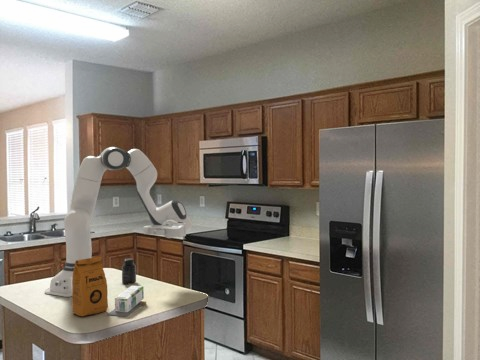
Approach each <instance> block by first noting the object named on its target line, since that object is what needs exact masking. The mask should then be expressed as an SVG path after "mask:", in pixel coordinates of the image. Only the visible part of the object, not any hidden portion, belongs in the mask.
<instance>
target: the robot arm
mask: <svg viewBox="0 0 480 360" xmlns="http://www.w3.org/2000/svg"><path fill="white" fill-rule="evenodd" d="M125 168H126V169H127V170H128V171H129V172H130V173H131V175H132V177H133V178H134V181H135V183H136V186H135V191H136V192H137V196H138V197H139V200H140V202H141V203H142V205H143V207H144V208H145V211H146V213H147V214H148V217H149V220H150V222H151V224H152V225H150V224H149V225H144V226H143V228H142V231H143V234H144V235H152V236H153V235H155V236H156V235H157V236H164V237H165V238H167V239H172V238H181V237H182V238H183V237H186V236H187V233H189V232H190V231H191V229H192V227H193V223H192V220H191V219H190V218H189V216H188V215H187V211H186V208H185V206H184V204H183V203H181V202H180V201H178V200H177V199H172V200H170V201H168V202H166V203H164V204H163V205H161V206H159V207H158V206H157V205H156V203H155V202H154V199H153V198H152V196H151V194H150V191H151V188H152V187H153V186H154V184H155V183H156V181H157V178H158V171H157V169H156V167H155V166H154V163H152V161H151V160H150V159H149V158H148V156H147V155H146V154H145V153H144V152H143V151H141V150H140V149H138V148H132V149H130V150H128V151H127V150H124V149H122V148H119V147H116V146H109V147H107V148H105V149H103V150H102V151H101V152H100V153H99V154H98V155H97V156H93V155H89V156H86V157H84V158H83V160H82V162H81V164H80V166H79V168H78V171H77V174H76V177H75V183H74V186H73V190H72V193H71V200H70V202H71V203H70V205H69V211H68V212H67V214H66V215H65V216H64V219H63V220H64V221H63V222H64V223H63V224H64V237H65V238H64V239H65V248H66V251H65V252H66V254H65V255H66V257H65V258H66V259H65V260H66V261H64V263H61V264H60V265H61V267H63V268H62V270H60V272H58V273H57V274H56V275H55V276H53V277H52V278H51V280H50V283H49V287H48V288H46V289H45V290H44V294H45V295H46V294H47V295H52V296H60V297H65V298H69V297H72V279H73V272H74V266H75V262H76V260H81V259H88V258H93V257H92V256H93V255H92V251H93V250H92V247H93V246H92V244H93V243H92V236H91V224H92V222H93V217H94V214H95V209H96V205H97V199H98V195H99V191H100V188H101V183H102V178H103V175H104V173H105V172H106V171H108V170H109V171H119V170H122V169H125Z"/></svg>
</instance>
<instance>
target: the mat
mask: <svg viewBox="0 0 480 360" xmlns="http://www.w3.org/2000/svg"><path fill="white" fill-rule="evenodd" d="M141 306H142V305H136V306H134V307H133V308H132V309H131V310H130V311H129V312H119V311H115V308H114V309H113V310H111V311H109V312H108V313H107V314H106V316H114V317H115V316H116V317H127V316H129V315H130V314H132V313H133V312H134V311H136V310H137V309H139V308H140V307H141Z"/></svg>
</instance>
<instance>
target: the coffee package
mask: <svg viewBox="0 0 480 360" xmlns="http://www.w3.org/2000/svg"><path fill="white" fill-rule="evenodd" d="M102 258H103V257H102V256H101V255H100V256H94V257H92V258H88V259H81V260H76V262H75V266H74V272H73V279H72V296H71V298H72V314H73V315H77V316H78V317H85V316H87V317H88V316H91V315H96V314H99V313H102V312H106V311H107V310H108V308H109V303H108V301H109V299H108V284H107V283H108V282H107V277H106V274H105V271H104V267H103V264H102V261H103V260H102Z"/></svg>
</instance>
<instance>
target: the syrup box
mask: <svg viewBox="0 0 480 360" xmlns="http://www.w3.org/2000/svg"><path fill="white" fill-rule="evenodd" d="M144 287H145V286H144V285H130V286H129V287H128V288H126V289H124V291H122V292H121V293H120V294H119V295H117V296H115V297H114V300H115V301H114V309H115V311H119V312H129V311H130V310H131V309H132V308H133V307H134V306H136V305H137V304H138V303H139V302H140V301H143V300H144V299H145V293H144V291H145V289H144Z"/></svg>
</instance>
